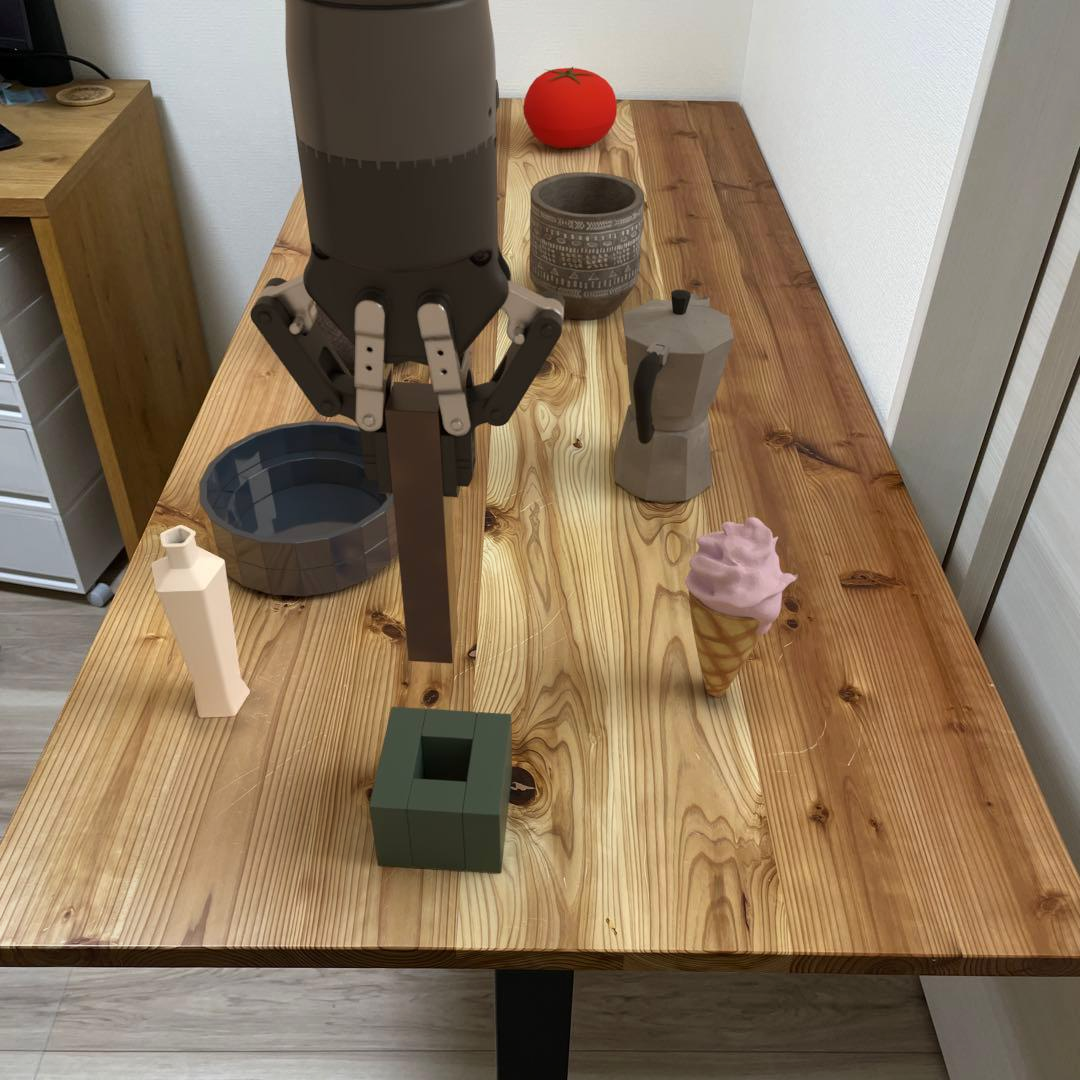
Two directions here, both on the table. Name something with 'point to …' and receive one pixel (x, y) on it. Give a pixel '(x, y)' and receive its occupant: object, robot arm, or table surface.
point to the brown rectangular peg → (422, 522)
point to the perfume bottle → (201, 621)
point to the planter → (586, 240)
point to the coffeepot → (671, 396)
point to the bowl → (297, 510)
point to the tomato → (570, 108)
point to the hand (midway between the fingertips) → (422, 483)
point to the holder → (443, 790)
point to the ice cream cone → (733, 597)
